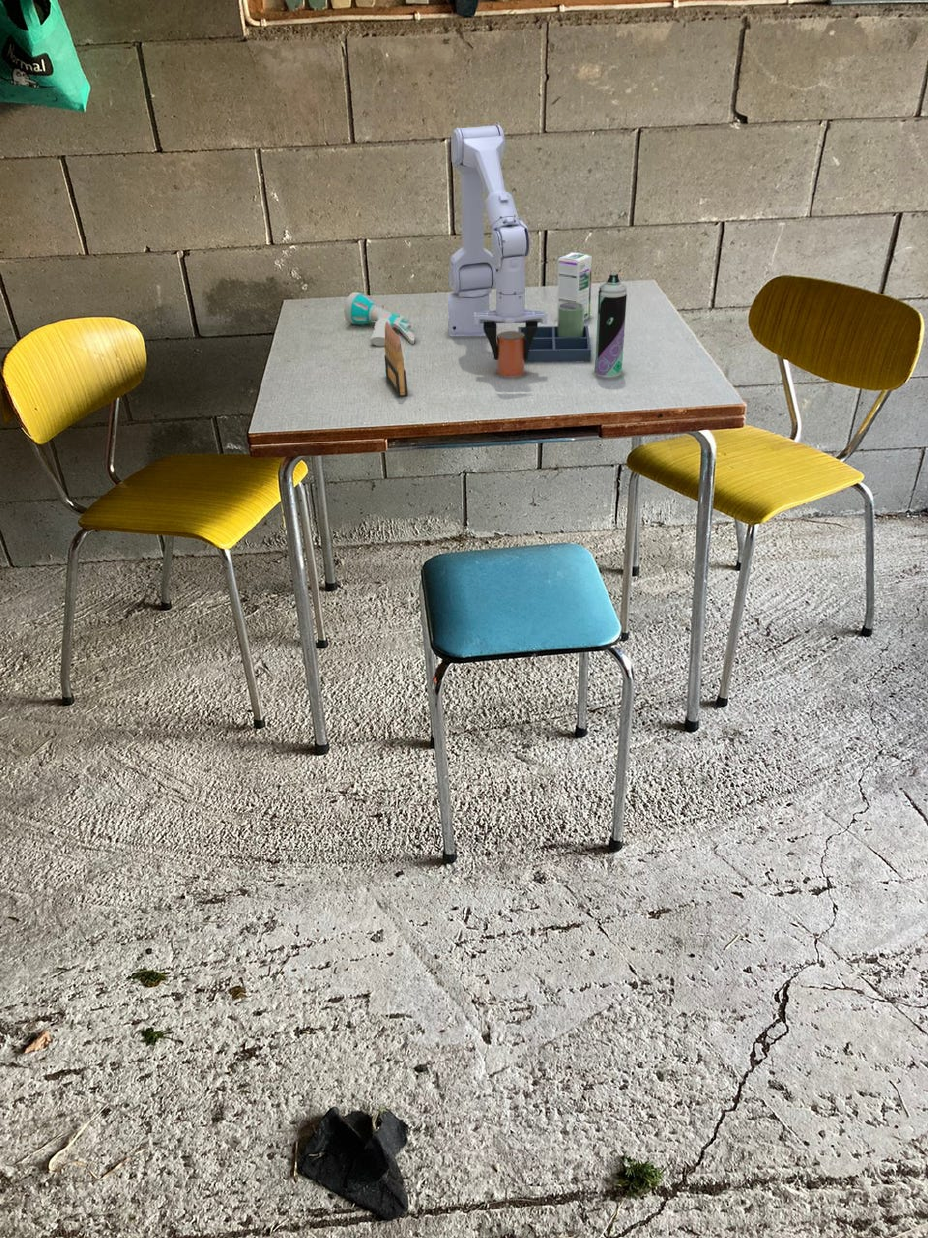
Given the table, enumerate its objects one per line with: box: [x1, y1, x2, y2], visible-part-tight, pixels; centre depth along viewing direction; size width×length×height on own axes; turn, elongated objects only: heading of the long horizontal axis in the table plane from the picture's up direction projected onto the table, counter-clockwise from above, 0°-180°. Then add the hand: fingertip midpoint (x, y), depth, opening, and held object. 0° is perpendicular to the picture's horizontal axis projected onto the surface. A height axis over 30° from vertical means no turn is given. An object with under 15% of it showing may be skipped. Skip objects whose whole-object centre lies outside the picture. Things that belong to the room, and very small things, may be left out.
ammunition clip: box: [384, 322, 408, 398], centre depth 188 cm, size 11×2×12 cm, turn 18°
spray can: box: [594, 273, 628, 378], centre depth 187 cm, size 6×6×20 cm
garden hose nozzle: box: [343, 291, 416, 347], centre depth 218 cm, size 7×18×20 cm
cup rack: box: [517, 325, 592, 363], centre depth 204 cm, size 15×15×3 cm
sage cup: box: [557, 302, 585, 338], centre depth 205 cm, size 6×6×8 cm
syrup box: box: [556, 251, 593, 320], centre depth 217 cm, size 6×6×14 cm
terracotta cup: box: [496, 330, 525, 378], centre depth 193 cm, size 6×6×8 cm
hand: (510, 357), depth 193 cm, fingers closed on terracotta cup, 5 cm apart
